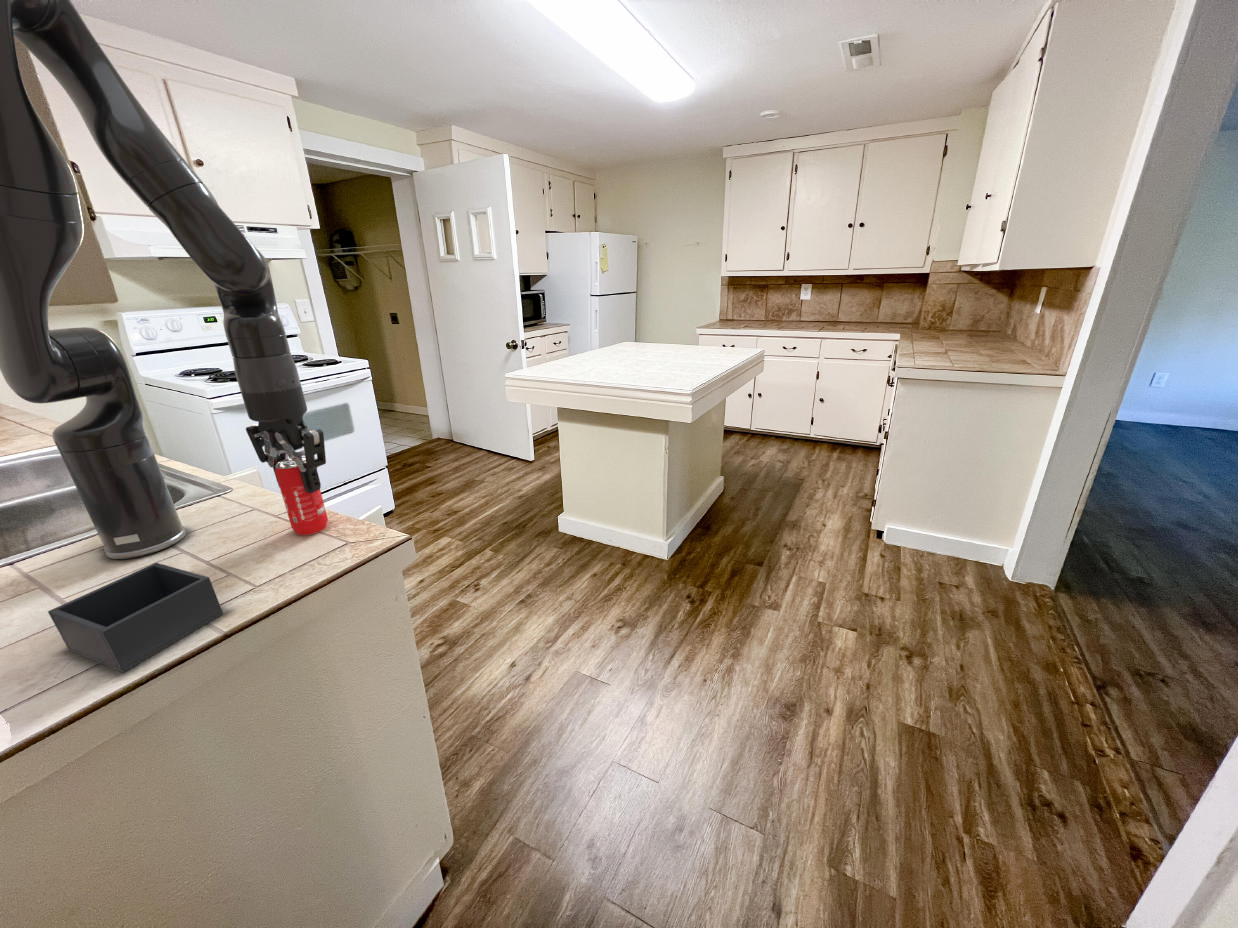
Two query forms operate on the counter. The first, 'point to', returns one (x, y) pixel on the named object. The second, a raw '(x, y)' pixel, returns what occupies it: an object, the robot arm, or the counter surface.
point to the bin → (136, 615)
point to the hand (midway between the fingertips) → (300, 488)
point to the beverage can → (300, 500)
